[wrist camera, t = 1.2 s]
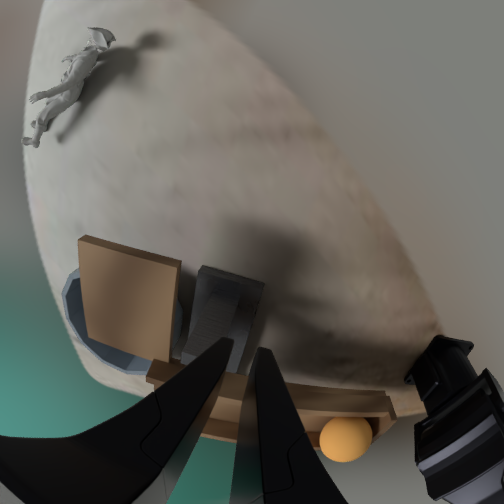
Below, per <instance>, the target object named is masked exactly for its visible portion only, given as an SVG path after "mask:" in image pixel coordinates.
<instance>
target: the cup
mask: <svg viewBox="0 0 504 504" xmlns="http://www.w3.org/2000/svg"><path fill="white" fill-rule="evenodd" d="M62 299H63V304H64V310H65V315H66V319H67V320H68V322H69V324H70V326H71V327H72V329H73V331H74V332H75V334H76V336H77V337H78V339H79V341H80V342H81V343H82V344H83V345H84V346H85V347H86V348H87V349H88V350H89V351H90V352H91V353H92V354H94V355H95V356H96V357H97V358H98V359H99V360H100V361H101V362H103V363H105V364H107V365H109V366H111V367H113V368H115V369H117V370H119V371H121V372H123V373H126V374H134V375H147V372H148V370H149V368H150V366H151V363H152V361H151V360H148V359H145V358H142V357H139V356H136V355H133V354H130V353H127V352H124V351H122V350H119V349H116V348H114V347H111V346H109V345H106V344H103V343H101V342H98V341H96V340H94V339H91V338H89V337H88V332H87V327H86V321H85V314H84V307H83V300H82V292H81V282H80V271H79V268H78V269H76V270H75V271H73V272H72V273H71V274H69V277H68V279H67V281H66V284H65V286H64V288H63V291H62ZM182 319H183V309H182V307H181V305H180V303H179V301H178V298H177V303H176V312H175V322H174V333H173V345H172V350H173V348H174V346H175V344H176V343H177V341H178V339H179V337H180V335H181V328H182Z"/></svg>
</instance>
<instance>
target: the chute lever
mask: <svg viewBox="0 0 504 504" xmlns="http://www.w3.org/2000/svg"><path fill="white" fill-rule="evenodd" d="M78 256H79V271H80V282H81V292H82V300H83V307H84V314H85V321H86V327H87V332H88V337H89V338H91V339H94V340H96V341H98V342H101V343H103V344H106V345H109V346H111V347H114V348H116V349H119V350H122V351H124V352H127V353H130V354H133V355H136V356H139V357H142V358H145V359H148V360H151V361H152V363H151V366H150V368H149V370H148V372H147V375H146V382H148V383H151V384H154V390H156V389H157V388H158V387H160V386H161V385H162V384H163V383H165V382H166V381H167V380H169V379H170V378H171V377H172V376H174V375H175V374H176V373H178V372H179V371H180V370H181V369H183V368H184V367H185V366H186V365H184V364H182V363H181V360H179V359H175V358H172V345H173V333H174V322H175V312H176V303H177V294H178V285H179V277H180V269H181V262H182V261H180V260H177V259H173V258H169V257H165V256H161V255H158V254H154V253H150V252H146V251H143V250H139V249H135V248H132V247H128V246H124V245H121V244H117V243H113V242H110V241H106V240H103V239H99V238H96V237H92V236H89V235H84V236H83V237H81V238H80V239H78ZM248 377H249V376H246V375H241V374H236V373H231V372H226V373H225V376H224V379H223V382H222V386H221V389H220V392H219V396H218V398H217V401H216V403H215V406H214V408H213V410H212V412H211V414H210V416H209V418H208V421H207V423H206V425H205V427H204V429H203V431H202V433H201V435H200V436H203V437H207V438H212V439H216V440H222V441H227V442H233V443H237V435H238V427H239V418H240V410H241V405H242V400H243V397H244V393H245V389H246V385H247V381H248ZM285 384H286V386H287V388H288V391H289V393H290V395H291V398H292V400H293V402H294V405H295V407H296V409H297V412H298V414H299V416H300V419H301V421H302V423H303V425H304V428H305V430H306V431H305V432H306V433H307V434H308V437H309V439H310V441H311V443H312V445H313V447H314V450H321V447H320V434H321V432H322V430H323V428H324V426H325V425H326V424H327V423H328V422H329V421H330V420H332V419H333V418H335V417H363V418H364V419H365V420H366V421H367V422H368V423H369V424H370V426H371V429H372V441H371V444H372V443H373V442H374V441H376V440H377V439H378V438H379V437H380V436H381V435H382V434H383V433H384V432H386V431H387V430H388V429H389V428H390V427H391V426H392V425H393V424H394V423H395V422H396V421H397V417H396V414H395V411H394V408H393V405H392V402H391V399H390V396H386V393H385V391H376V390H354V389H340V388H328V387H318V386H309V385H301V384H294V383H286V382H285ZM371 444H370V445H371Z"/></svg>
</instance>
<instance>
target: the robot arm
mask: <svg viewBox="0 0 504 504" xmlns="http://www.w3.org/2000/svg"><path fill="white" fill-rule="evenodd" d="M233 345H234V339H231V338H228V337H224V336H223V337H221V338H220V339H218V340H217V341H216V342H215V343H214V344H212V345H211V346H210V347H209V348H207V349H206V350H205V351H204V352H203V353H201V354H200V355H199V356H198V357H196V358H195V359H194V360H193V361H191V362H190V363H189V364H188V365H186V366H185V367H184V368H183V369H181V370H180V371H179V372H178V373H176V374H175V375H174V376H172V377H171V378H170V379H169V380H167V381H166V382H165V383H163V384H162V385H161V386H160V387H158V388H157V389H156V390H154V392H151V393H150V394H149V395H148V396H146V397H145V398H144V399H142V400H141V401H139V402H138V403H136V404H135V405H133V406H132V407H130V408H129V409H127V410H125V411H123V412H122V413H120V414H118V415H116V416H114V417H112V418H110V419H108V420H107V421H105V422H103V423H101V424H99V425H97V426H94V427H93V428H91V429H88V430H86V431H84V432H82V433H80V434H77V435H73V436H69V437H62V438H24V437H23V438H22V437H8V436H2V435H0V504H166V502H167V500H168V499H169V497H170V495H171V493H172V491H173V489H174V487H175V485H176V483H177V481H178V479H179V477H180V475H181V473H182V471H183V469H184V467H185V466H186V464H187V462H188V459H189V458H190V455H191V453H192V451H193V449H194V447H195V445H196V443H197V441H198V439H199V437H200V435H201V433H202V431H203V429H204V427H205V425H206V423H207V421H208V418H209V416H210V414H211V412H212V410H213V408H214V406H215V403H216V401H217V398H218V396H219V392H220V389H221V386H222V382H223V379H224V376H225V373H226V369H227V366H228V363H229V359H230V356H231V352H232V349H233ZM473 347H474V344H473V343H472V342H470V341H464V340H458V339H453V338H449V337H444V336H436V337H434V338H433V340H432V341H431V343H430V344H429V346H428V347H427V349H426V350H425V352H424V353H423V354H422V356H421V357H420V359H419V360H418V361H417V363H416V364H415V365H414V367H413V368H412V369H411V371H410V372H409V373H408V374H407V376H406V377H405V378H404V382H405V384H410V385H416V388H417V391H418V394H419V396H420V399H421V401H423V403H424V406H425V409H426V412H427V415H428V417H426V418H425V419H424V420H422V421H421V422H418V423H416V424H415V425H414V430H415V431H414V439H415V463H416V466H417V467H418V468H419V470H420V472H421V473H422V474H423V475H424V477H425V481H426V486H427V492H428V495H429V496H430V497H431V498H432V499H433V500H435V501H437V500H439V499H441V498H442V499H444V500H445V501H447V502H449V503H450V504H504V392H503V390H502V388H501V386H500V385H499V383H498V381H497V380H496V379H495V378H494V376H493V375H492V374H491V373H490V372H489V370H488V369H487V368H485V369H484V370H483V372H482V373H481V375H479V376H477V374H476V372H475V370H474V368H473V367H472V365H471V363H470V361H469V360H468V358H467V356H468V354H469V353H470V352H471V350H472V349H473ZM305 431H306V430H305V428H304V425H303V423H302V421H301V419H300V416H299V414H298V412H297V409H296V407H295V405H294V402H293V400H292V398H291V395H290V393H289V391H288V388H287V386H286V384H285V381H284V379H283V377H282V374H281V372H280V369H279V367H278V365H277V362H276V360H275V358H274V355H273V353H272V351H271V350H270V349H267V348H264V347H259V348H258V349H257V352H256V355H255V357H254V360H253V363H252V366H251V369H250V373H249V377H248V381H247V385H246V389H245V393H244V397H243V400H242V405H241V410H240V418H239V427H238V435H237V444H236V452H235V460H234V469H233V477H232V485H231V493H230V501H229V504H348V503H347V501H346V500H345V498H344V497H343V496H342V494H341V493H340V491H339V489H338V488H337V486H336V485H335V483H334V482H333V480H332V479H331V477H330V476H329V474H328V472H327V471H326V469H325V468H324V466H323V464H322V463H321V461H320V459H319V457H318V456H317V454H316V452H315V450H314V447H313V445H312V443H311V441H310V439H309V437H308V434H307V433H306V432H305Z"/></svg>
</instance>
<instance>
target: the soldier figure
mask: <svg viewBox="0 0 504 504" xmlns="http://www.w3.org/2000/svg"><path fill="white" fill-rule="evenodd" d="M87 29H88V31H89V33H90V35H91V38H92V39H93V41H94V42H95V44H96V46H88V44H89V40H88V42H87V46H88V47H85V48H84V50H83V51H82V50H81V52H80V53H79V54H78V55H72V56H67V57H65V58H64V59H63V60H62V62H64V61H65V60H70V61H72V60H73V61H72V63H71V64H70V66H69V68H68V70H67V71H66V73H65V74H63V76H62V79H61V81H62V83H61V84H59V85H58V86H56V87H53V88H51V89H50V90H48V91H42V92H38V93H35V94H33V95H32V96H30V99H29V100H31V99H32V98H33V99H32V100H31V101H30V102H32V101H33V100H34V101H33V102H32V104H33V103H34V102H36V101H38V100H41V99H43V98H46V97H47V99H46V101H45V105H46V106H45V108H44V109H42V110H41V111H40V112H39V113H38V115H37V117H36V121H32V122H31V126H32V127H33V128H35V131H34V134H33V137H32V138H29V137H24V138H22V140H21V142H22V143H23V144H24V145H33V147H35V148H38V147H39V144H40V141H39V140H40V138H41V135H42V134H43V132H46V129H47V124H48V121H49V119H51V118H53V117H55V116H56V115H58V114H59V113H61V112H63V111H65V110H66V109H67V108H69V107H70V106H71V105H73V104H74V103H75V101H76V100H77V99H78V98H79V97H80V93H81V91H82V89H83V85H84V80H85V79H86V78H87V77H88V76H89V75H90V72H91V70H92V68H93V67H94V66H95V65H96V64H97V62H96V60H97V57H98V51H97V48H98V49H100V50H102V51H105V50H106V49H107V48H109V47H110V44H111V42H112V41H116V39H115V37H114V35H113V34H112V33H111V32H110V31H109V30H106V29H102V28H87ZM91 43H92V41H91ZM70 61H69V62H70Z"/></svg>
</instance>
